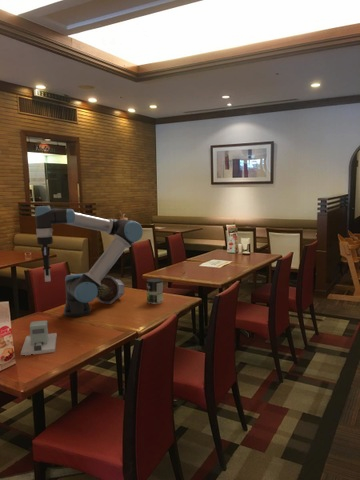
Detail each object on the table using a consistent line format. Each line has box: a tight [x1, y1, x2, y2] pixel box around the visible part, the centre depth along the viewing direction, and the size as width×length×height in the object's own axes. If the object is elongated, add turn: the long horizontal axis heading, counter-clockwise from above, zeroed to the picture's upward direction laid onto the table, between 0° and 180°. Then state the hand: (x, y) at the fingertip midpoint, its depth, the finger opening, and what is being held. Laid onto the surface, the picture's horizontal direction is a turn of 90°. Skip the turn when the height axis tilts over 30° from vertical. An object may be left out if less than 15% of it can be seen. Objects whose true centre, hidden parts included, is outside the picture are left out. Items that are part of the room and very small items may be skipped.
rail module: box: [29, 319, 49, 346], centre depth 179 cm, size 7×7×9 cm
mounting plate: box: [20, 332, 58, 356], centre depth 180 cm, size 14×20×4 cm
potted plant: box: [96, 275, 125, 305], centre depth 243 cm, size 18×18×30 cm
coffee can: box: [146, 277, 164, 305], centre depth 246 cm, size 10×10×14 cm
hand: (47, 281), depth 202 cm, fingers closed
